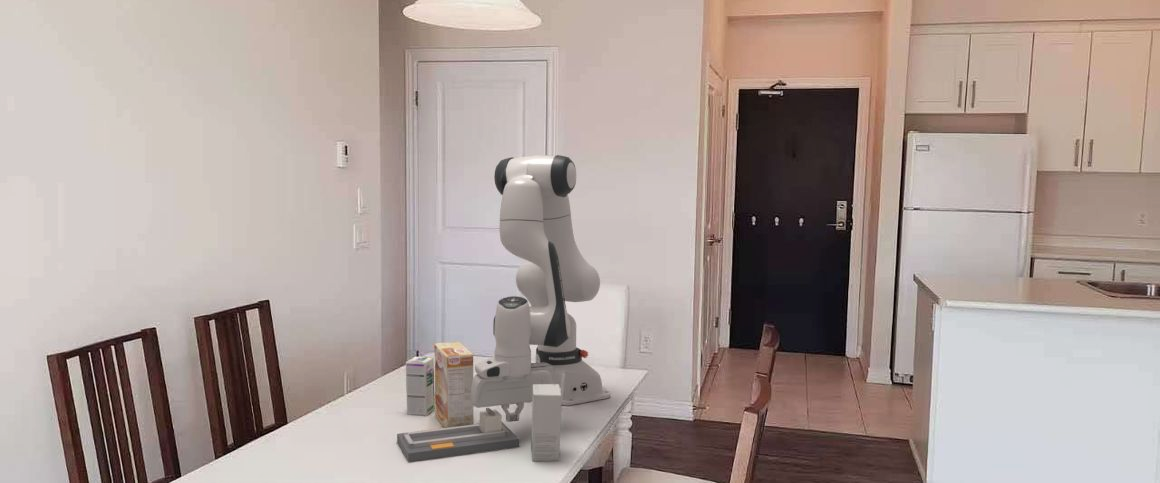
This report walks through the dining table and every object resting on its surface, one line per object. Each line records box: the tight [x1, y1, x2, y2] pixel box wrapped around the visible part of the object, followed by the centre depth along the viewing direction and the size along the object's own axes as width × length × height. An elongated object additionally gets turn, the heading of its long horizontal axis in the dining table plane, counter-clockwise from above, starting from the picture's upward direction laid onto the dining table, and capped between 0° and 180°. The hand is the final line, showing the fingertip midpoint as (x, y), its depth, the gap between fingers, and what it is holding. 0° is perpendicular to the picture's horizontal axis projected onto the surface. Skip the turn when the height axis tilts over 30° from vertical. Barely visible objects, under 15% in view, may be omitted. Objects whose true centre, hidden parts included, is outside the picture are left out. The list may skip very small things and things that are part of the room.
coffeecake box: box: [433, 341, 475, 428], centre depth 202 cm, size 15×7×20 cm, turn 22°
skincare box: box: [530, 384, 562, 462], centre depth 181 cm, size 8×7×16 cm
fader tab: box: [479, 407, 503, 433], centre depth 190 cm, size 4×5×5 cm
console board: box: [396, 421, 521, 463], centre depth 187 cm, size 26×14×3 cm, turn 113°
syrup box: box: [405, 356, 435, 417], centre depth 211 cm, size 6×6×14 cm
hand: (512, 420), depth 192 cm, fingers closed
